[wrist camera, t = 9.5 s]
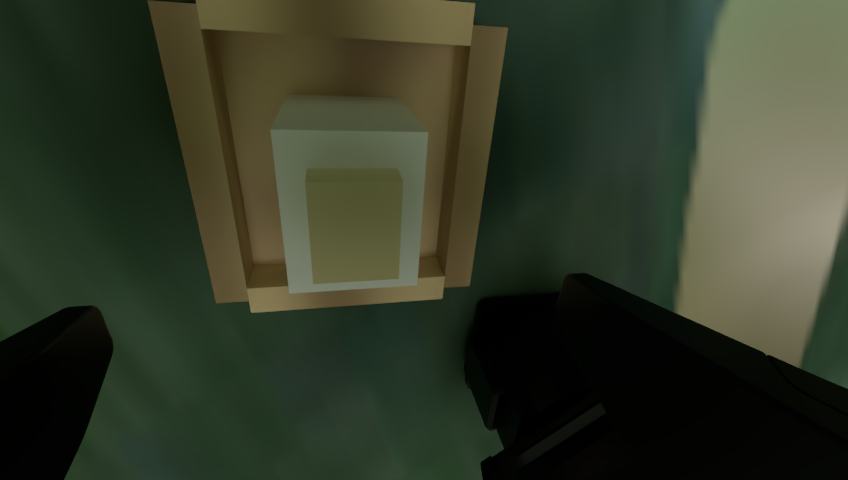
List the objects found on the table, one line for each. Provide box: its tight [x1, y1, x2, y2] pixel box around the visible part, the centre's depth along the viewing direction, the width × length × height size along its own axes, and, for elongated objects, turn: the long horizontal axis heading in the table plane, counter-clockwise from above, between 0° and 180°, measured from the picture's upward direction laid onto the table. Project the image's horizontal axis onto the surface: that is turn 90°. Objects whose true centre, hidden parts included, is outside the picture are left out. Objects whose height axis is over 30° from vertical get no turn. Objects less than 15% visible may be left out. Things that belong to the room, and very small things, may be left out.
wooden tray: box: [147, 0, 508, 313], centre depth 15 cm, size 10×11×2 cm
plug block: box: [270, 94, 428, 294], centre depth 13 cm, size 4×5×6 cm
